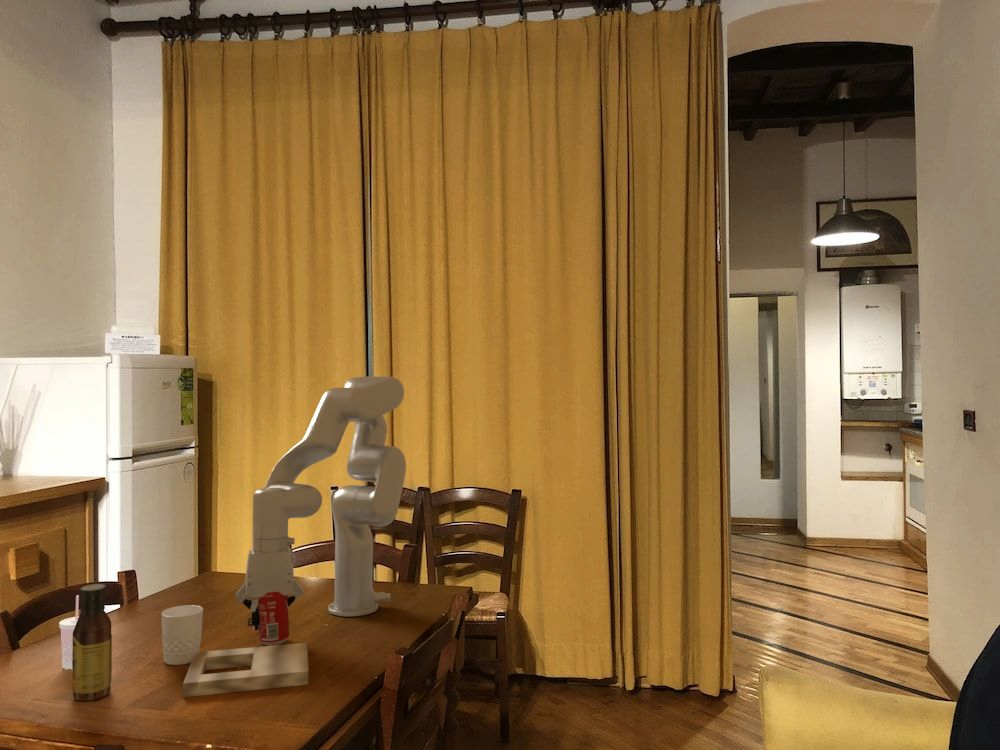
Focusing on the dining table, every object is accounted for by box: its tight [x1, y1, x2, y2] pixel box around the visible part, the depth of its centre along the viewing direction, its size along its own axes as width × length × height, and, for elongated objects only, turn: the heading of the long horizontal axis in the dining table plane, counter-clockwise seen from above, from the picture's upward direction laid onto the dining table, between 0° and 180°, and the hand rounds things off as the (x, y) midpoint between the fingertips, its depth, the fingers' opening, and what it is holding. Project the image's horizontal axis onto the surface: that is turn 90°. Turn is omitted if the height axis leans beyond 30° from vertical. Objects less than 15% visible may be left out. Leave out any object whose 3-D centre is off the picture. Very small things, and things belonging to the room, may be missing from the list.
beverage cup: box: [58, 594, 80, 670], centre depth 143 cm, size 6×6×14 cm
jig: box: [182, 642, 309, 698], centre depth 139 cm, size 22×16×2 cm
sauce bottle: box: [71, 583, 113, 702], centre depth 129 cm, size 6×6×20 cm
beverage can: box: [257, 590, 290, 646], centre depth 157 cm, size 6×6×12 cm
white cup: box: [161, 604, 204, 666], centre depth 147 cm, size 8×8×10 cm
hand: (269, 626), depth 156 cm, fingers closed on beverage can, 4 cm apart
